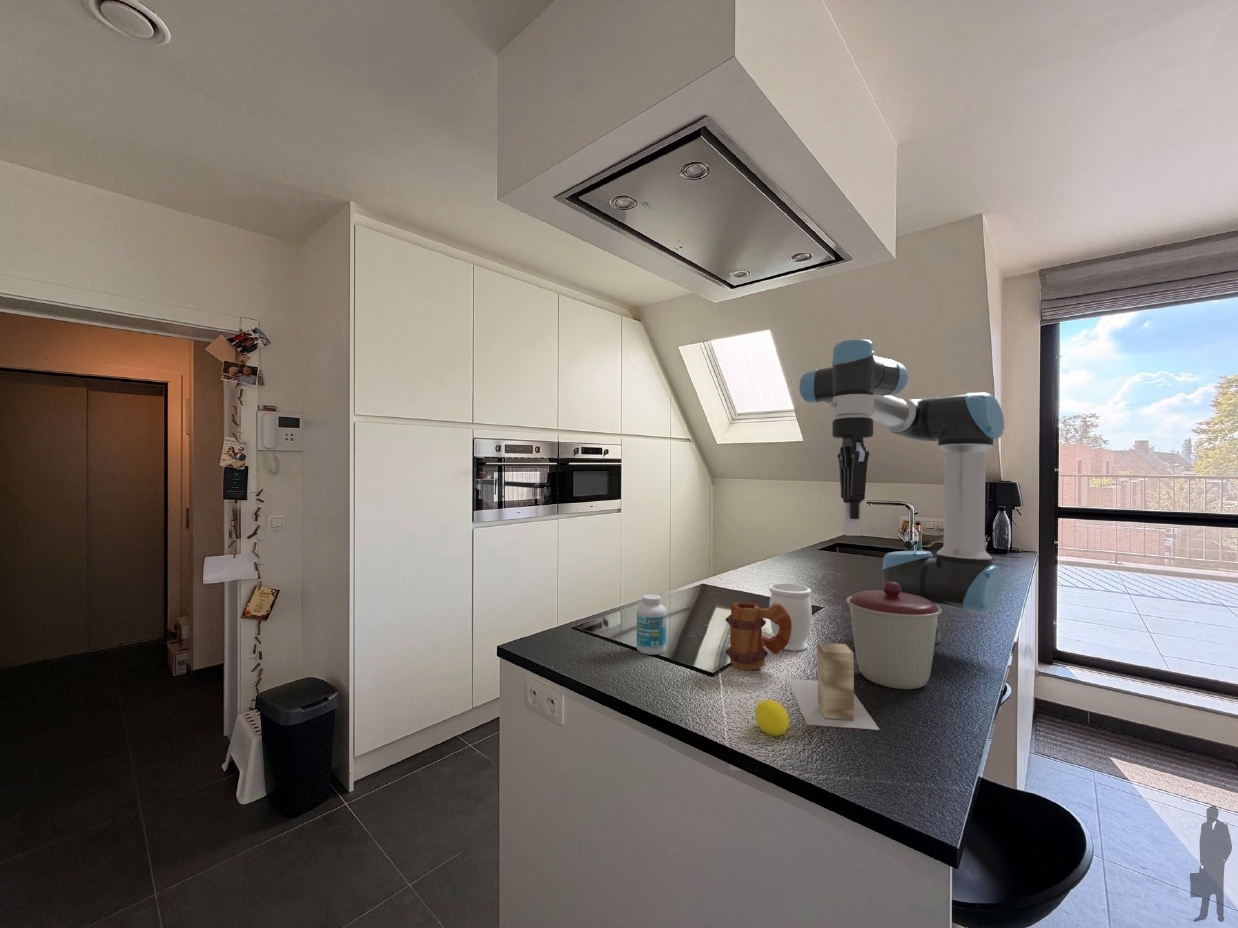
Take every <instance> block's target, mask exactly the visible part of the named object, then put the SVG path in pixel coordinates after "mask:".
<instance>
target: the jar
mask: <svg viewBox="0 0 1238 928" xmlns="http://www.w3.org/2000/svg"><path fill="white" fill-rule="evenodd" d="M768 590H769V591H770V593H771V594H770V597H769V604H768V605H769V606H768V607H770V606H771V605H773V604H775V603H778V604H781V605H782V606H783V607H784V608H785V609H786V611H787V612H788V614H789V616H790V618H791V624H792V627H791V635H790V639H789V642H788V644H787V645H786V647H785V648H784V649H783V651H784V650H785V651H789V652H790V651H792V652H801V651H805V650H807V648H808V644H807V642H806V641H807V639H808V637H809V634H810V629H811V624H812V613H813V612H812V610H813V609H812V602H811V599H810V598H811V597H810V595H812V589H811V588H810V587H808V586H805V585H800V584H796V583H795V584H794V583H775V584H770V585H769V588H768ZM770 625H771V631H772V633H773V635H774V637H776V635H777V634H778V632H779V626H778V625H777V624H775V623H774V622H772V621H771V620H770Z"/></svg>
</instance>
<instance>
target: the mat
mask: <svg viewBox="0 0 1238 928" xmlns="http://www.w3.org/2000/svg"><path fill="white" fill-rule="evenodd" d="M787 682H788V684H789V686H790V688H791V690H792V693H793V695H794V697H795V700H796V702H797V704H798V707H799V709H800V711H801V714H802V716H803V718H804V721H805V723H806V725H809V726H810V725H811V726H822V727H823V726H824V727H834V728H835V727H837V728H848V729H849V728H850V729H861V730H862V729H864V730H865V729H866V730H874V731H875V730H876V731H880V730H881V729H880V728H879V727H878V725H877V723H876V721H874V720H873V718H872V716H871V715H870V714H869V712H868V711H867V709H866V707H864V705H863V703H862V702H861V701H860V699H859V698H858V697H857V695H856V694H855V693H854V721H845V720H831V719H824V717H823V715H822V713H821V711H820V709H819V707H818V680H812V679H811V680H810V679H796V678H795V679H794V678H793V679H792V678H787Z"/></svg>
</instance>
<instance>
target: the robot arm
mask: <svg viewBox="0 0 1238 928" xmlns="http://www.w3.org/2000/svg"><path fill="white" fill-rule="evenodd" d="M874 349H875V347H874V344H873V342H872V340H870V339H863V338H861V339H860V338H859V339H857V338H856V339H855V338H854V339H848V340H847V339H846V340H843V341H840V342H838V343H836V344H835V345H834V347H833V351H832V362H831V367H825V368H820V369H818V368H817V369H815V370H811V371H808V372H805V373H804V374H803V375H802V376H801V378H800V379H799V387H798V388H799V393H800V396H801V398H802V399H803V400H804V401H805V402H806V403H809V404H810V403H816V404H817V403H818V404H819V403H820V402H824V403H827V404H829V405H830V407H832V417H834V418H835V419H833V420H832V431H831V432H832V434H831V435H832V437H833V438H835V439H842V443H841V444H842V445H841V447H840V448H839V453H838V454H837V458H838V459H837V460H838V466H839V483H840V484H839V486H840V498H841V499H842V501H843V504H844V505H843V512H844V513H843V515H844V517H843V519H844V520H843V522H844V525H843V526H844V527H843V529H844V531H843V535H844V536H849V537H850V536H856V537H858V536H859V537H861V531H862V529H861V527H862V525H861V523H862V522H861V519H862V518H861V513H862V511H861V509H862V508H861V503H862V502H863V501H865V499H866V497H865V496H866V495H865V494H866V482H867V471H868V461H869V456H870V452H869V451H868V450H867V449H866V448H867V447H866V446H865V443H864V442H865V441H864V439H868V438H872V437H873V436H874V422H876V423H879V424H881V426H882V428H883V429H884V430H886V431H888V432H891V433H892V434H895V435H898V436H902V437H904V438H908V439H913V440H915V441H924V442H937V443H938V444H937V447H938V449H940V450H941V451H942V452H943V454H944V484H943V485H944V488H943V489H944V490H943V491H944V492H943V493H944V494H943V495H944V496H943V498H944V500H943V503H944V504H943V546H942V547H941V548H940V549H939V550H938V551H936V558H934V556H933V553H932V552H931V551H929V550H928V551H927V550H903V551H902V550H900V551H892V552H888V553H885V555H884V556H883V563H882V568H881V570H882V586H883V585H884V584H885V583H886V582H896V583H898V584H899V585H900V586H901V592H903V593H908V594H913V595H917V596H921V597H924V598H926V599H928V600H930V601H932V602H933V603H934V604H936V605H941V606H945V607H951V608H956V609H959V610H964V611H966V612H968V611H969V612H970V611H971V612H978V613H987V612H988V611H991V610H992V609H993V608H994V607H995V605H996V604H997V603H998V601H999V598H1000V595H1001V592H1002V589H1003V583H1004V580H1003V578H1004V577H1003V574H1002V570H1001V569H1000V567H999V566H997V565H994V564H993V557H992V556H991V555H990V553H988V552H987V550H985V546H986V544H985V540H986V539H985V538H986V537H985V536H986V534H985V533H986V525H985V524H986V523H985V522H986V458H987V457H986V455H987V452H988V451H990V450H991V449H993V447H994V440H997V439H999V438H1001V437H1002V435H1003V434H1004V429H1005V421H1004V413H1003V410H1002V407H1001V405H1000V403H999V401H998V400H997V399H996V398H995V396H994V395H992V394H991V393H988V392H966V393H959V394H953V395H952V394H951V395H943V396H935V397H924V398H917V399H916V398H913V399H911V398H908V397H905V396H898V397H895V395H897V394H899V393H901V391H903V390H904V389H905V387H906V385H907V382H908V381H909V380H908V379H909V374H908V371H907V369H906V367H905V366H904V365H903V364H902V363H900V362H899V361H898V362H897V361H895V359H894V360H893V359H891V358H885V357H881V356H876V355H874V354H875V350H874ZM882 590H883V589H882ZM883 591H884V590H883ZM940 642H941V632H940V629H939V625H938V624H937V628H936V636H935V645H936V644H939V643H940Z"/></svg>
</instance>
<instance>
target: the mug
mask: <svg viewBox="0 0 1238 928" xmlns="http://www.w3.org/2000/svg"><path fill="white" fill-rule="evenodd" d="M765 619H768V620H769V621H770V622H771V621H772V622H774V623H775V624H777V625H778V626H779V632H778V634H777V635H776V637H775V636H774V637H773V638H769V637H767V636H764V635H763V634H762V633H763V630H762V629H763V627H764V626H765V625H766V624H767V621H766V620H765ZM725 621H726V623H728V625H729V626H730V629H729V630H730V632H729V633H730V635H729V637H730V639H729V641H730V644H729V646H728V648H726V649H725V651H724V653H725V654H726V655H727V656H728V657H729V659H730V661H729V662H730V664H731V665H732V666H733V667H734V668H736V669H739V670H740V671H741V670H743V671H756V670H758V669H761V668H763V667H764V666H765V664H766V662H765V660H766V657H767V656H768V654H769V652H768V651H766V650H765V649H767V650H769V651H770V652H771V653H772V654H774V655H778V654H780V653H781V652H782V651H784V648H785V647H786V645H787V644H788V642H789V639H790V635H791V627H792V624H791V618H790V616H789V614H788V612H787V611H786V609H785V608H784V607H783V606H782V605H781V604H778V603H775V604H773V605H771V606H770V607H769V606H768V607H766V608H762V607H760V606H759V605H758V604H757V603H753V602H752V603H749V602H733V603H732V604H731V610H730V615H728V617H726V618H725Z"/></svg>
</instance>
